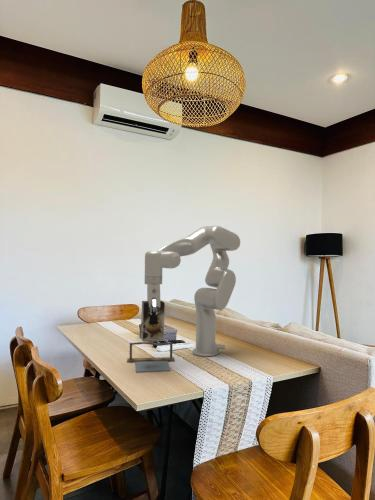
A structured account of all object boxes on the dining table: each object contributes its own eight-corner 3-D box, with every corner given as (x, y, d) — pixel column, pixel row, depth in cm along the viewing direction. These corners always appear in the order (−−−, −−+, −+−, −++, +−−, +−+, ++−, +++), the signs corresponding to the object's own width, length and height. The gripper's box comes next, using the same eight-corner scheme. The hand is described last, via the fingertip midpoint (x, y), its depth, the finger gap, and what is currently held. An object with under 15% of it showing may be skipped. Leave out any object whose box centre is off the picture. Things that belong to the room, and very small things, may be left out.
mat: (167, 361, 153) (167, 360, 153) (170, 370, 142) (170, 369, 142) (135, 363, 151) (135, 361, 151) (136, 372, 139) (136, 371, 139)
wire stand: (174, 359, 157) (174, 341, 157) (174, 362, 154) (174, 343, 154) (127, 360, 155) (127, 342, 155) (127, 363, 151) (127, 344, 151)
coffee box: (142, 341, 142) (143, 302, 142) (140, 338, 148) (141, 300, 148) (164, 340, 144) (164, 302, 144) (161, 337, 151) (162, 300, 151)
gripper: (164, 282, 139) (163, 326, 138) (160, 278, 156) (159, 318, 156) (145, 282, 137) (144, 327, 137) (143, 278, 154) (142, 318, 154)
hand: (152, 322), depth 146 cm, fingers closed on coffee box, 6 cm apart
